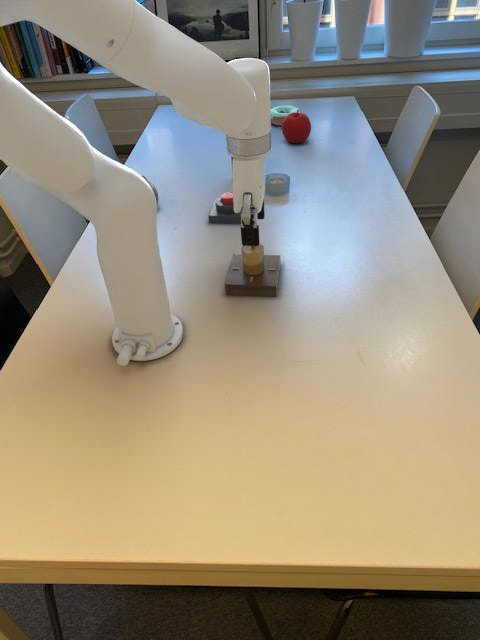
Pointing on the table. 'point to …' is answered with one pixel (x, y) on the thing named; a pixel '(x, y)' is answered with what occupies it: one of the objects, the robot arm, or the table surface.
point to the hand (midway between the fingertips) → (253, 231)
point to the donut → (281, 114)
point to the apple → (296, 127)
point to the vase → (153, 189)
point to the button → (227, 198)
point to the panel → (253, 278)
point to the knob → (253, 259)
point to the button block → (223, 213)
